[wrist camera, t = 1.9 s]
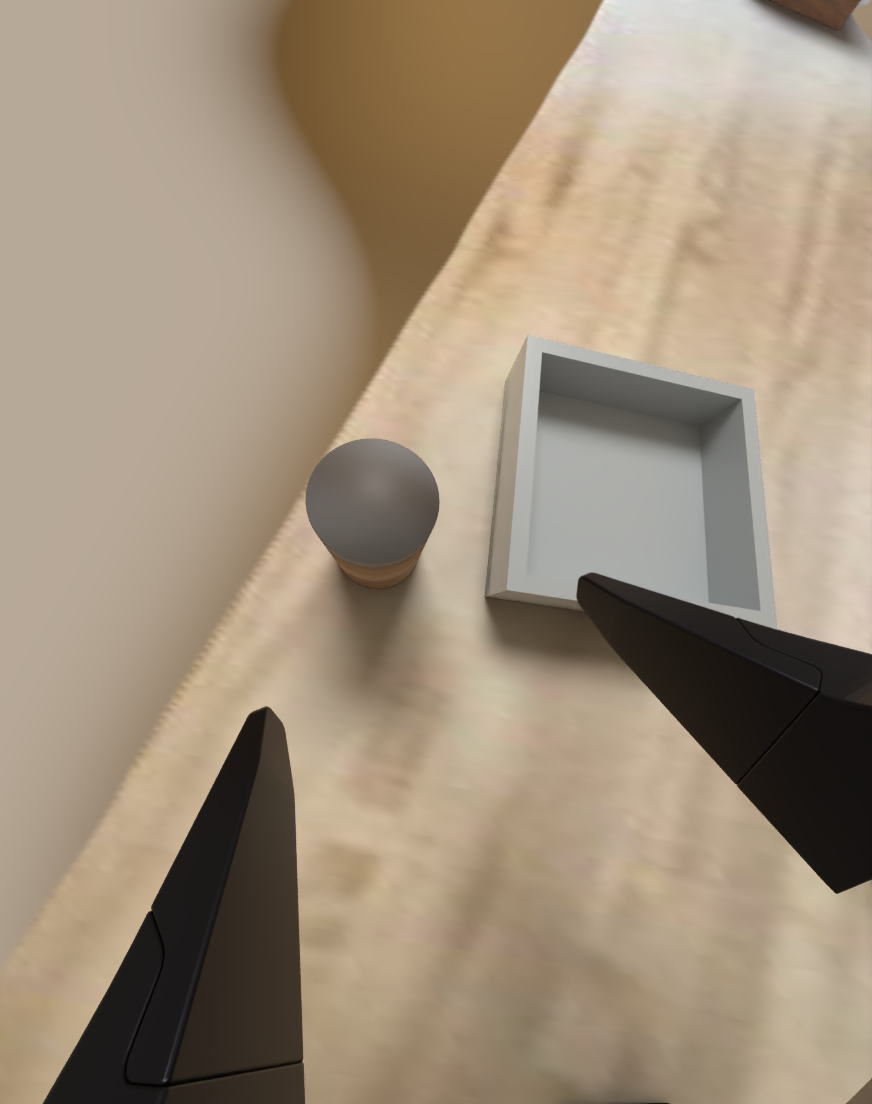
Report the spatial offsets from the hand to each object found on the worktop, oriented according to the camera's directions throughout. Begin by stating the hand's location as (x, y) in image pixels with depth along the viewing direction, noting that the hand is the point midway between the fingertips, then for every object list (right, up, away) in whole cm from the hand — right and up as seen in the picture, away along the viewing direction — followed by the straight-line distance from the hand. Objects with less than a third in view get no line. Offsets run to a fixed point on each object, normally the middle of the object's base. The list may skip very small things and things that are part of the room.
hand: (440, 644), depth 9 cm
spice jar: (-4, +3, +12) cm, 13 cm away
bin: (+12, +6, +15) cm, 20 cm away
